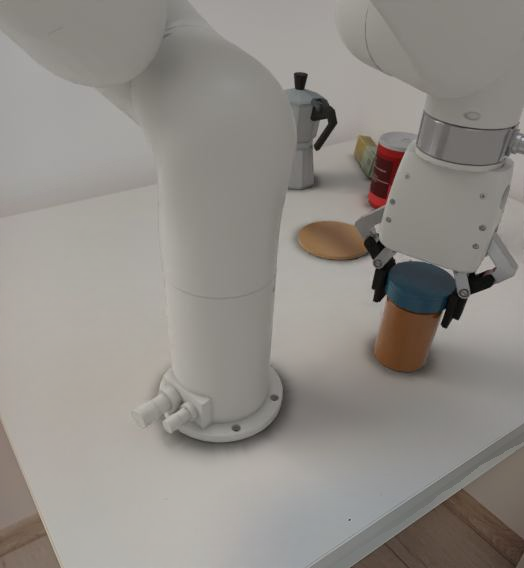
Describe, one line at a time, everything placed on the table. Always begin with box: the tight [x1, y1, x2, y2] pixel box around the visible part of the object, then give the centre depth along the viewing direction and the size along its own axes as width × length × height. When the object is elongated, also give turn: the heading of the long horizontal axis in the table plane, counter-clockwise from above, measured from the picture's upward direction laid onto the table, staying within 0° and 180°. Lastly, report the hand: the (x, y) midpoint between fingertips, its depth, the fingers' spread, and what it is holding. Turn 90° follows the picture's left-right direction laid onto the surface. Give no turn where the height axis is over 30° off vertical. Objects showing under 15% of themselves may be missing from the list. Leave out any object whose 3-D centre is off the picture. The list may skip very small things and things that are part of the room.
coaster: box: [297, 220, 368, 261], centre depth 79 cm, size 11×11×1 cm
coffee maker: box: [283, 71, 338, 190], centre depth 89 cm, size 15×9×18 cm, turn 43°
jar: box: [373, 295, 445, 373], centre depth 56 cm, size 6×6×10 cm
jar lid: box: [385, 260, 456, 313], centre depth 53 cm, size 7×7×2 cm
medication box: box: [353, 134, 378, 180], centre depth 100 cm, size 12×3×4 cm, turn 7°
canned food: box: [367, 131, 418, 210], centre depth 86 cm, size 8×8×11 cm
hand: (413, 307), depth 55 cm, fingers closed on jar lid, 6 cm apart
